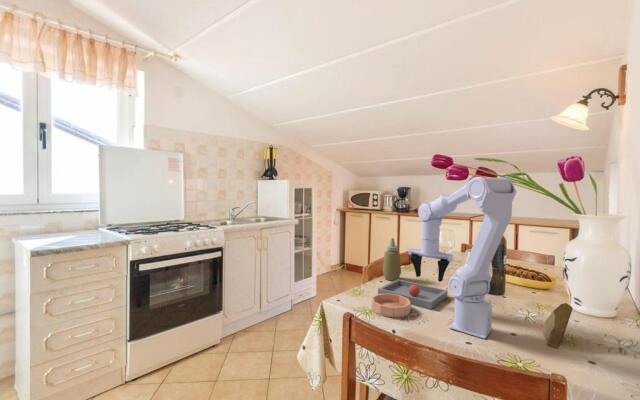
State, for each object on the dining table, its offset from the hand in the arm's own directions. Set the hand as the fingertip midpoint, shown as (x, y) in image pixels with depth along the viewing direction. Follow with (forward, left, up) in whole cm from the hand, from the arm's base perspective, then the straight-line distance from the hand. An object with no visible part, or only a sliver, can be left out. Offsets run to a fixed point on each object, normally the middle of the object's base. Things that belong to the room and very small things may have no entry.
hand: (429, 278), depth 105 cm
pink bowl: (+8, +12, -9) cm, 17 cm away
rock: (-34, 0, -10) cm, 35 cm away
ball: (+7, -4, -7) cm, 11 cm away
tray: (+8, -5, -9) cm, 13 cm away
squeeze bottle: (+24, -19, -10) cm, 32 cm away
